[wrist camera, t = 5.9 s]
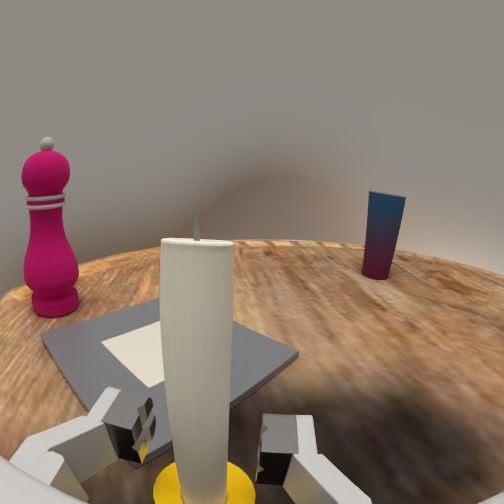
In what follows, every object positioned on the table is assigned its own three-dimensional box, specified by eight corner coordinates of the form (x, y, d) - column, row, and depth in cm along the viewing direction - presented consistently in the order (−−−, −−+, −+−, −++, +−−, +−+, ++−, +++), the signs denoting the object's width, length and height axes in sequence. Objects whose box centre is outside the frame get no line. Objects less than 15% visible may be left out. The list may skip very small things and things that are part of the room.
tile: (175, 298, 38) (174, 292, 38) (297, 357, 27) (299, 349, 27) (42, 340, 24) (40, 332, 24) (135, 469, 13) (132, 461, 13)
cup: (352, 275, 52) (364, 190, 48) (362, 266, 58) (373, 191, 54) (388, 284, 48) (403, 197, 44) (394, 275, 54) (407, 197, 50)
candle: (163, 491, 12) (121, 194, 8) (256, 497, 13) (301, 204, 9) (152, 566, 7) (3, 233, 3) (263, 573, 8) (388, 255, 4)
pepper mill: (93, 304, 33) (89, 134, 28) (50, 326, 27) (36, 132, 21) (61, 290, 36) (55, 140, 30) (21, 307, 29) (8, 140, 24)
